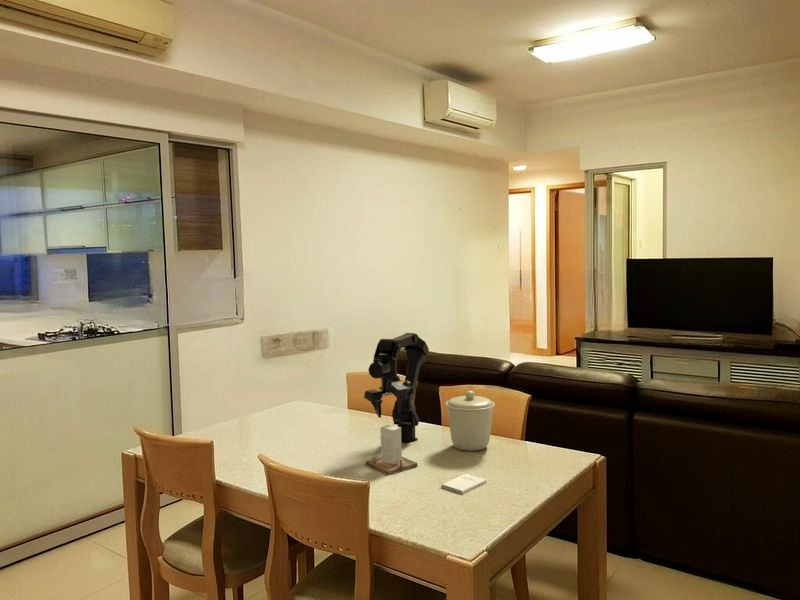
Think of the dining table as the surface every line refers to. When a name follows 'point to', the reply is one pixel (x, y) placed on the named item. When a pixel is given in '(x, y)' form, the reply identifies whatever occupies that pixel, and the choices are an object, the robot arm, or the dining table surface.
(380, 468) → the pin nest board
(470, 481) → the external hard drive
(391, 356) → the robot arm
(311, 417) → the dining table surface
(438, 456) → the dining table surface
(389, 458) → the skincare box
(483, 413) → the canister
